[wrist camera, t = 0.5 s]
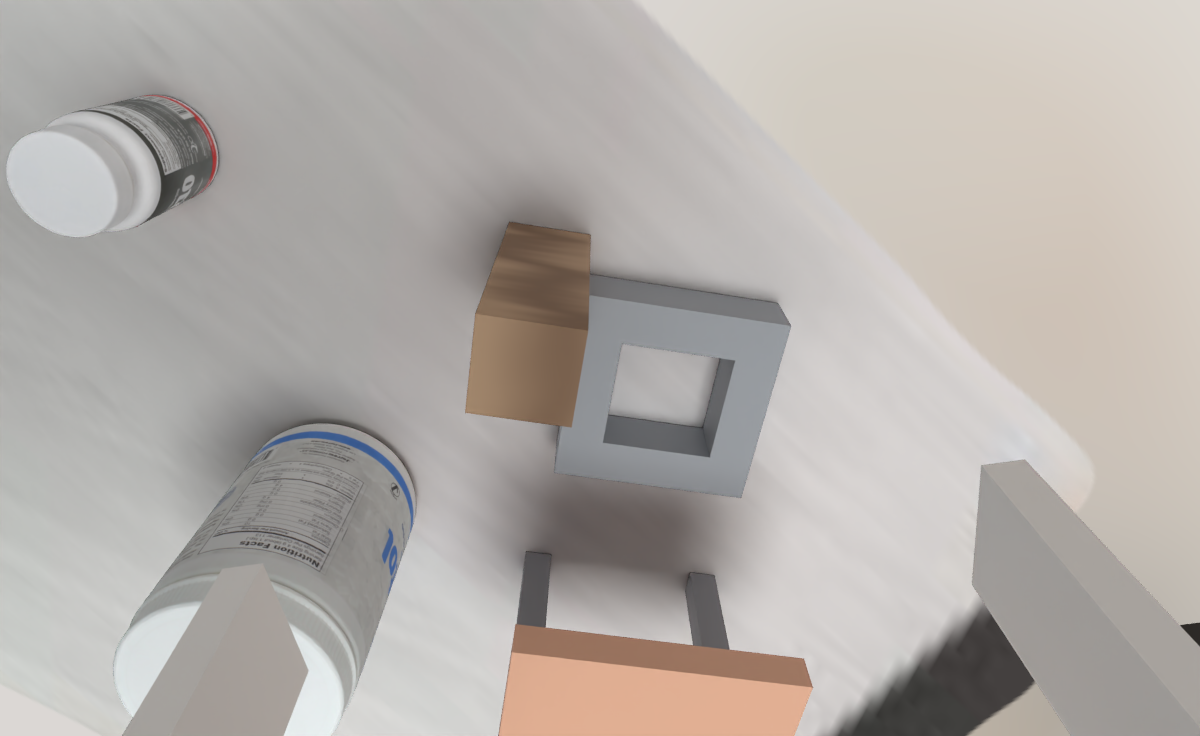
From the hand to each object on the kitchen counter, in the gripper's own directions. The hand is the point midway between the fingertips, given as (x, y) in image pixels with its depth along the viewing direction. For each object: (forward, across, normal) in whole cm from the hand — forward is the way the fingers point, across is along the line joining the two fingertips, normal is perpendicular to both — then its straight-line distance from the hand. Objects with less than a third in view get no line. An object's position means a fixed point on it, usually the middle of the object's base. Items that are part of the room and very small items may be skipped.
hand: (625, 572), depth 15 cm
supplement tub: (+27, -17, -14) cm, 35 cm away
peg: (+26, -3, -3) cm, 27 cm away
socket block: (+26, +2, -10) cm, 28 cm away
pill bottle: (+27, -19, +6) cm, 34 cm away
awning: (+26, -1, -19) cm, 32 cm away
